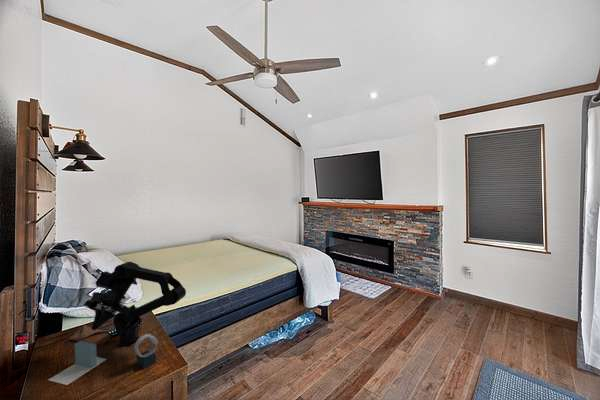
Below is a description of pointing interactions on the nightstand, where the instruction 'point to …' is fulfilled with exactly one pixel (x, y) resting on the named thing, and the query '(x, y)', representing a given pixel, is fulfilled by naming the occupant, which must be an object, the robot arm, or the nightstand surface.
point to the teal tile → (85, 354)
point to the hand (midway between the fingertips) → (93, 329)
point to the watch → (146, 352)
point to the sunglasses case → (90, 335)
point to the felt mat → (73, 373)
